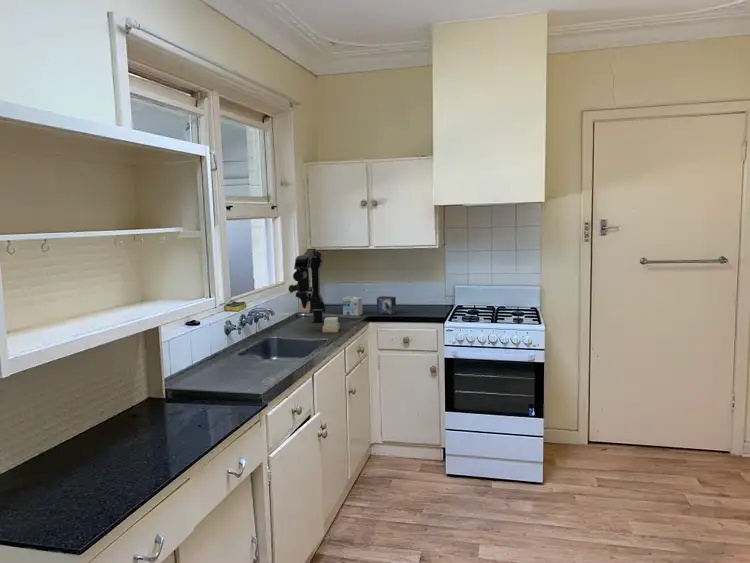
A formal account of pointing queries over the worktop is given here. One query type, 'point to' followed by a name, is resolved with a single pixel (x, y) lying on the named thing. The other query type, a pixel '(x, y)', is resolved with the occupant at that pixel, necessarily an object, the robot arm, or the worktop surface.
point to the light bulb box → (352, 306)
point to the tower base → (331, 328)
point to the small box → (386, 305)
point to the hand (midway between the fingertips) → (305, 307)
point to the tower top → (331, 321)
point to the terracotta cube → (306, 306)
